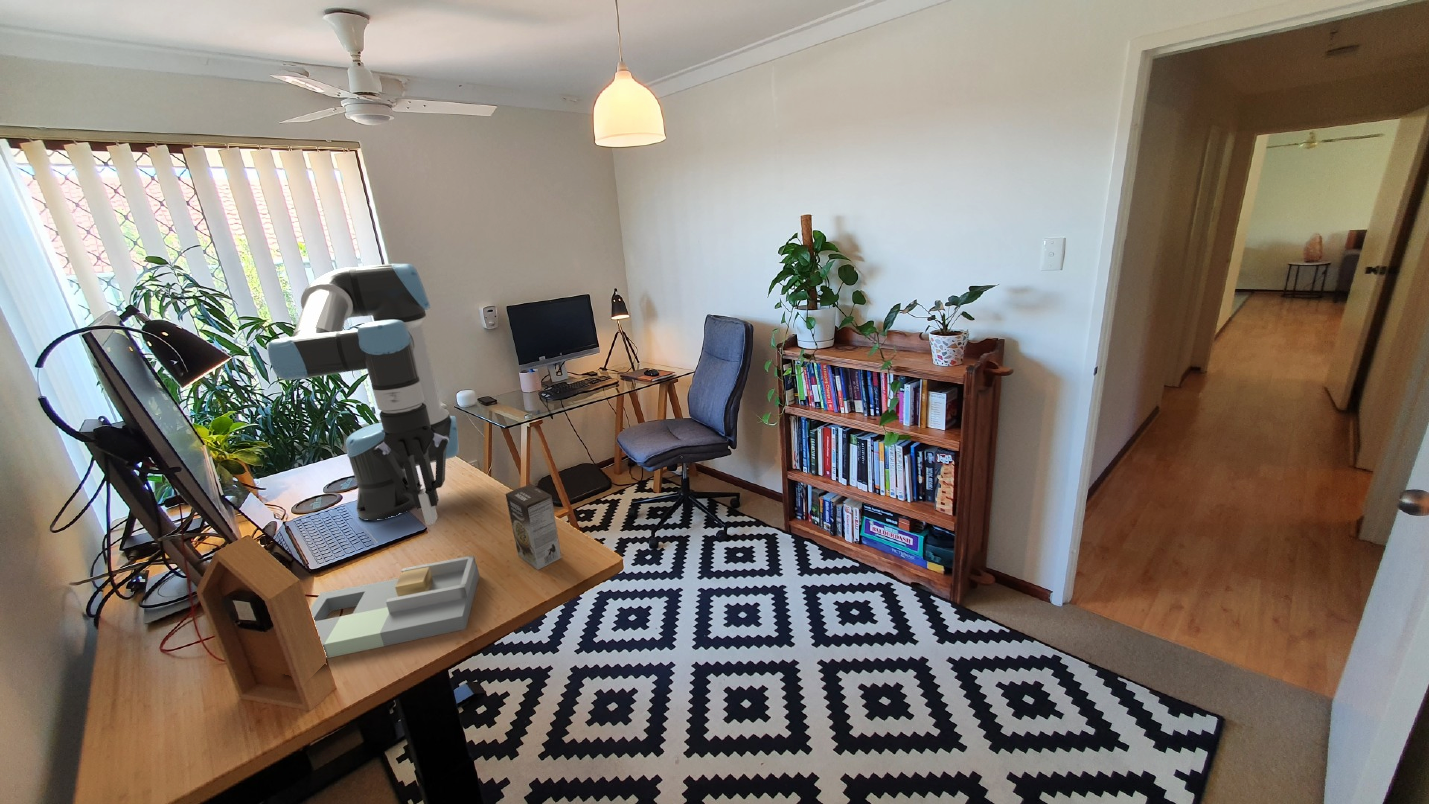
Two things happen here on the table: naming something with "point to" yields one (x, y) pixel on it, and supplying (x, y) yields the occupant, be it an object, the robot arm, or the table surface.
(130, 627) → the table surface
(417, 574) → the ochre block
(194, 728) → the table surface
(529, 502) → the coffee box
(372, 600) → the tray
